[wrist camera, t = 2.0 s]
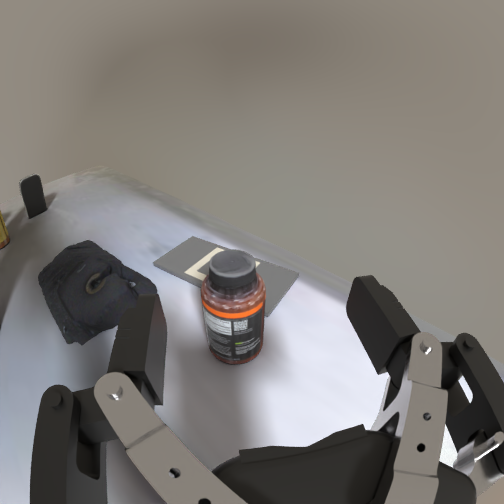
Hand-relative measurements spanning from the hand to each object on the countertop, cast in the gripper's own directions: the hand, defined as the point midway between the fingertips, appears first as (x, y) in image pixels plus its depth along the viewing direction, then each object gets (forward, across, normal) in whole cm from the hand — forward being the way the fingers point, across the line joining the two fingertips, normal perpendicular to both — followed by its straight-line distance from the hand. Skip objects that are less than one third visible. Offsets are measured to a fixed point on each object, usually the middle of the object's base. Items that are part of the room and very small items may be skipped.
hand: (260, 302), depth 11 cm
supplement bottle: (+12, 0, +17) cm, 21 cm away
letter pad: (+25, +1, +17) cm, 30 cm away
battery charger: (+57, +54, +16) cm, 80 cm away
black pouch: (+23, +22, +17) cm, 36 cm away
